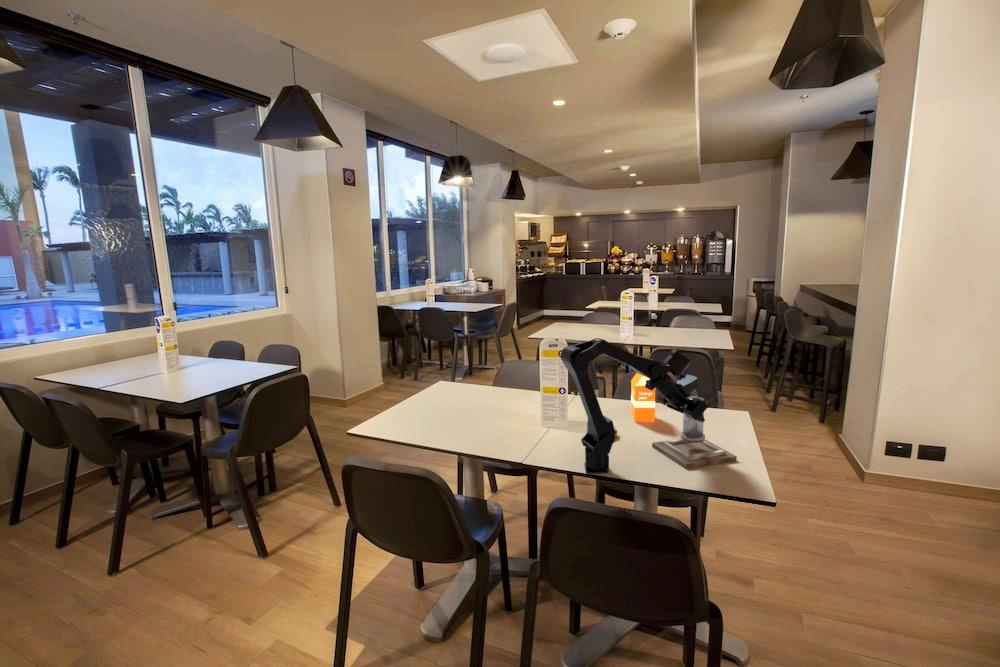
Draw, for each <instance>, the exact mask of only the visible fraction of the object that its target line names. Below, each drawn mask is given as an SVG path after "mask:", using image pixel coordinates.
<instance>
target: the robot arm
mask: <svg viewBox="0 0 1000 667" xmlns="http://www.w3.org/2000/svg"><path fill="white" fill-rule="evenodd" d="M601 355H605V356H607V357H609V358H611V359H613V360H616V361H618V362H620V363H623V364H625V365H627V366H628V367H629V368H630V369H631V370H632V371H634V372H636V373H638V374H640V375H642V376H645V377H647V378H650V379H649V380H646V384H645V388H647V389H649V390H651V391H652V390H653V389H654V388H655V391H657V392H658V393H659V394H658V395H657V401H658V402H659V403H660V404H661V405H664V406H666V407H667V408H669V409H671V410H673V411H676V412H678V413H681V414H684V405H685V406H687V407H686V408H685V414H686V416H687V417H689V418H692V419H694V420H698V421H700V422H705V420H706V419H705V417H704V416H705V415H704V416H703V412H704V413H705V412H706V410H707V409H708V408H709V407H710V406H709V403H708V402H707V401H706V400H705V399H704V400H702V399H700V398H694V399H693V400H690V399H688V397H690V396H692V392H693V391H695V390H697V389H700V388H701V383H700V381H699V379H698V377H697V376H694V375H692V374H685V375H684V374H683V373H684V372H685V371H686V370H687V368H688V367H689V366H690V365H691V363H692V361H691V360H690V358H689V357H687V356H685V355H684V354H682V353H681V352H679V351H678V350H677V349H672V350H671V351H670V352H669V354H668V355H667V357H666V358H665V359H664V360H663V361H659V360H656V359H652V358H649V357H646V356H642V355H638V354H634V353H632V352H630V351H628V350H625V349H623V348H620V347H619V346H617V345H614V344H612V343H610V342H608V341H607V340H606V339H603V338H600V337H594V338H592V339H590V340H588V341H587V340H586V341H583V342H579V343H577V344H574V345H571V344H570V345H566V346H565V347H563V349H562V350H561V352H560V359H561V362H562V363H563V365H564V366H565V368H566V370H567V371H568V373H570V375H571V376H572V378H573V380H574V383H575V387H576V390H577V391H578V395H579V398H580V400H581V402H582V406H583V408H584V411H585V414H586V416H587V424H586V429H587V428H588V432H587V431H586V433H585V435H584V436H583V437H582V438H581V439H580V442H581V444H582V446H583V447H584V463H583V464H584V469H585V473H586V474H608V473H609V469H610V461H609V460H610V456H609V454H610V452H611V450H612V447H613V444H614V443H615V441H616V438H617V437H616V436H617V435H616V436H615V433H617V434H618V431H617V432H616V431H615V429H614V427H615V426H614V423H613V420H612V419H610V418H608V417H607V416H605V415H604V414H603V412H602V409H601V406H600V403H599V400H598V398H597V394H596V391H595V389H594V386H593V383H592V380H591V377H590V362H592V361H594V360H595V359H597V358H598V357H599V356H601ZM675 377H676V378H675ZM673 378H675V379H676V381H675V380H674V379H673Z"/></svg>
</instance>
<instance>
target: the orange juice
mask: <svg viewBox="0 0 1000 667" xmlns="http://www.w3.org/2000/svg"><path fill="white" fill-rule="evenodd" d="M649 379H650V378H647V377H645V376H642V375H640V374H638V373H637V372H636V374H634V376H633V377H632V379H631V380H630V382H631V383H630V384H631V388H630V390H631V392H630V393H631V394H630V416H631V417H632V420H633V419H634V420H633V422H634V421H635V422H655V421H656V419H655V418H656V389H655V388H654V389H653V390H652V391H651V390H649V389H647V388H645V384H646V380H649ZM635 422H634V423H635ZM655 423H656V422H655Z"/></svg>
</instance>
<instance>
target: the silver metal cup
mask: <svg viewBox="0 0 1000 667" xmlns="http://www.w3.org/2000/svg"><path fill="white" fill-rule="evenodd" d="M694 398H700V399H702V400H705V398H703V397H700V396H695V395H694V396H692V395H691V396H690V397H688V399H690V400H693V399H694ZM686 407H687V406H685V405H684V414H683V413H682V414H683V416H682V417H683V419H682V422H683V423H682V431H681V433H680V439H683V440H685V441H688V442H703V441H705V440H706V435H705V434H704V422H705V421H704V422H700V421H698V420H694V419H692V418H689V417H687V416H686V414H685V408H686ZM703 416H705V411H704V412H703Z"/></svg>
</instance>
